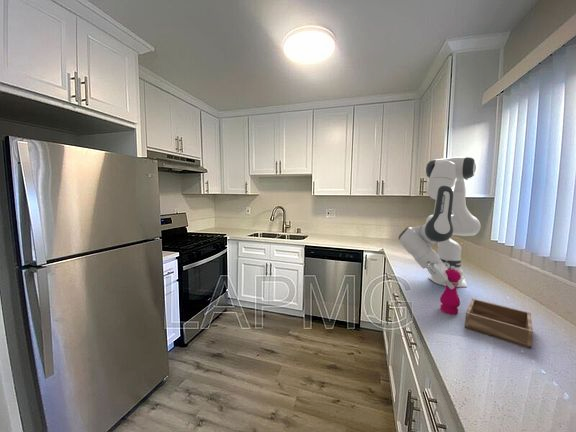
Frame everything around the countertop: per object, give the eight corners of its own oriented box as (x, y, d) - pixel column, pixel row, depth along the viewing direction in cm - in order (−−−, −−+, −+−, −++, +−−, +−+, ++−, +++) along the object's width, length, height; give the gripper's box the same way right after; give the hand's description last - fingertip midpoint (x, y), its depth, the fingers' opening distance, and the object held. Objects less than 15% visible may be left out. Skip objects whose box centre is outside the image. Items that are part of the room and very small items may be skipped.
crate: (470, 311, 107) (472, 298, 106) (528, 327, 95) (530, 312, 94) (464, 328, 93) (465, 312, 93) (531, 349, 81) (533, 331, 81)
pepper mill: (437, 310, 107) (441, 265, 105) (441, 305, 112) (445, 262, 110) (457, 316, 102) (461, 269, 100) (460, 311, 107) (464, 266, 105)
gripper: (433, 260, 100) (461, 289, 95) (435, 251, 117) (458, 275, 113) (420, 269, 102) (446, 298, 98) (424, 258, 120) (446, 282, 115)
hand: (453, 285), depth 106 cm, fingers closed on pepper mill, 5 cm apart
